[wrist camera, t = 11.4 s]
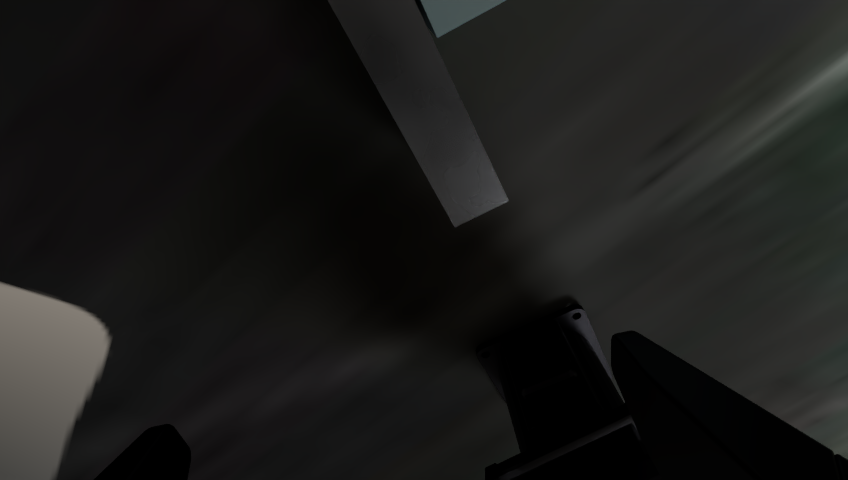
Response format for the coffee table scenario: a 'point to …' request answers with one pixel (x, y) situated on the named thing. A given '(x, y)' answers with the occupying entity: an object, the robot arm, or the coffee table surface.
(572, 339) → the robot arm
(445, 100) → the corner stop
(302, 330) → the coffee table surface
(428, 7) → the socket block
